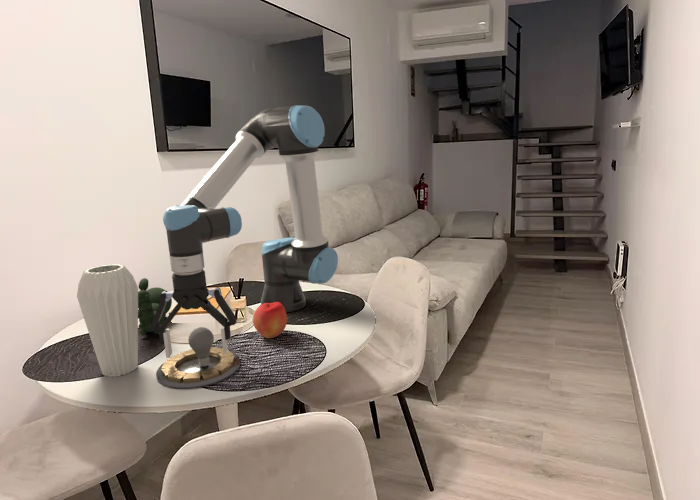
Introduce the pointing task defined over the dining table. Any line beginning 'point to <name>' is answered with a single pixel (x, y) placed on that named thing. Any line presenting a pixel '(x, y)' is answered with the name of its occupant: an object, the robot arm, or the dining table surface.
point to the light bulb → (201, 344)
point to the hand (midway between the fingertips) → (197, 353)
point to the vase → (111, 316)
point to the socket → (197, 369)
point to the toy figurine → (149, 306)
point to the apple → (270, 319)
